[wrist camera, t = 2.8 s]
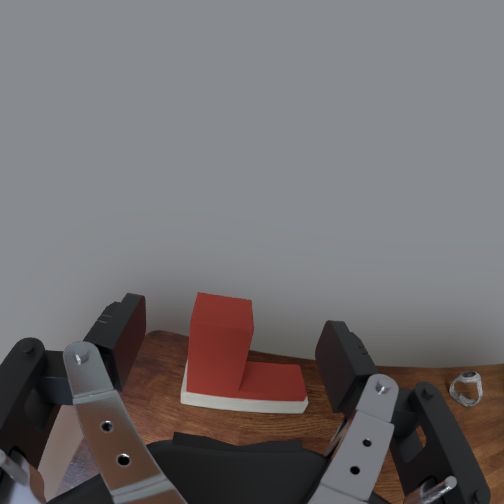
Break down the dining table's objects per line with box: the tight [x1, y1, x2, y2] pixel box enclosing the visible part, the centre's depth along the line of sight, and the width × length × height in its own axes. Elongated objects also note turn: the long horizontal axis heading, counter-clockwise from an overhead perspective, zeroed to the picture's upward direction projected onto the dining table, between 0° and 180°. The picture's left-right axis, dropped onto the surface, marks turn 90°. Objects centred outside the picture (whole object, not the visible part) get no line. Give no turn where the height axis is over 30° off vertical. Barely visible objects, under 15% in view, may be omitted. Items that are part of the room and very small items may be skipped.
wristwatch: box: [449, 371, 483, 407], centre depth 26 cm, size 4×6×5 cm, turn 27°
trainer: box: [181, 293, 308, 413], centre depth 25 cm, size 13×5×11 cm, turn 93°
